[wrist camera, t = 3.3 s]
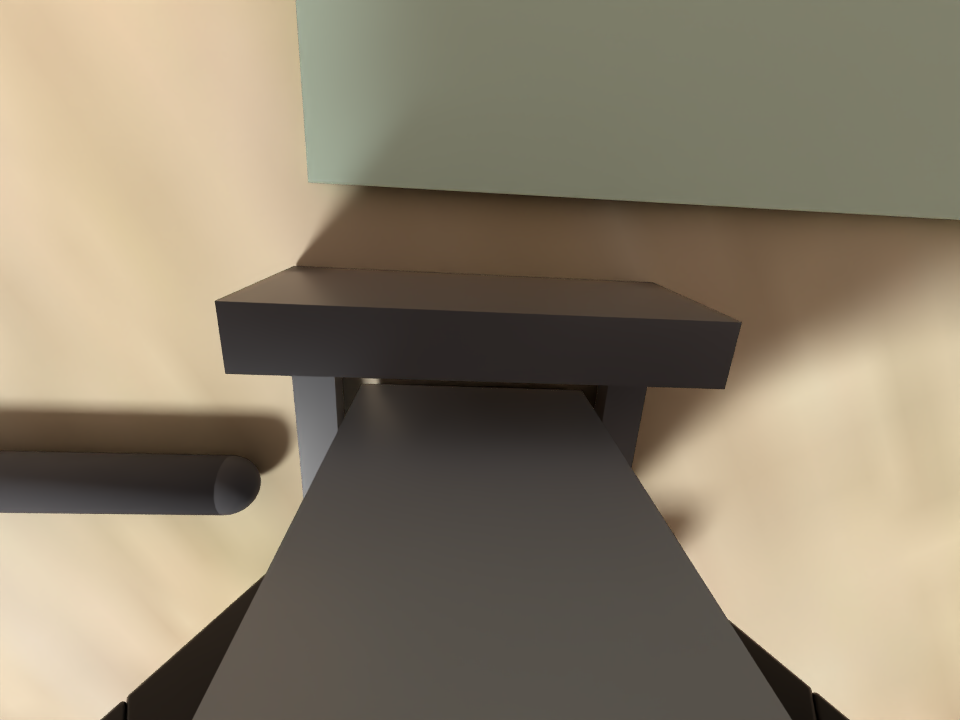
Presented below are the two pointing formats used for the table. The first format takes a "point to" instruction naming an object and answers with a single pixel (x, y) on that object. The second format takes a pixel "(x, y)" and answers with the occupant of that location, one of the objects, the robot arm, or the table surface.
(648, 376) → the frame
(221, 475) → the grey capsule rod
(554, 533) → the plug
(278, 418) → the table surface
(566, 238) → the table surface
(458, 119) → the mat
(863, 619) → the table surface
